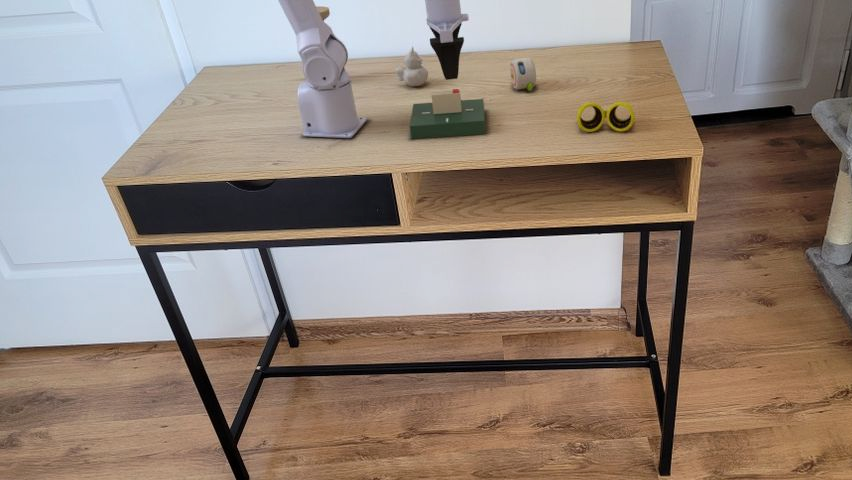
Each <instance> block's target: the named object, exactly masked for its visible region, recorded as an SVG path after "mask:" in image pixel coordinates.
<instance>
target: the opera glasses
mask: <svg viewBox="0 0 852 480" xmlns="http://www.w3.org/2000/svg"><path fill="white" fill-rule="evenodd" d="M589 107H591V108H593V110H594V115H593V117H592V118H591V119H588V120H585V119H583V118H582V114H583V112H584V111H585V110H586V109H588V108H589ZM619 107H623V108H626V109H627V110H628V112H629V113H630V114H629V116H628V117H627V118H626V119H620V118H619V117H618V116H617V113H616V111H617V109H618V108H619ZM635 117H636V115H635V112H634V109H633V106H632V105H631V104H630V103H628V102H625V101H618V102H614V103H612V104H611V105H610V106H609V107H608V109H607V110H606V109H603V106H601V105H600V104H599V103H596V102H586V103H583V104H581V105H580V106H579V107H578V109H577V116H576V122H577V125H578V127H579V128H580V129H581V130H582V131H584V132H587V133H593V132H596V131H598V130H599V129H600V128H601V127H602V126H603V125H604V122H605V119H606V122H607V124H608V125H609V127H610V128H611V130H614V131H616V132H625V131H628V130H630V129H631V128H632V126H633V125H634V122H635Z"/></svg>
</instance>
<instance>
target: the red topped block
mask: <svg viewBox="0 0 852 480" xmlns="http://www.w3.org/2000/svg"><path fill="white" fill-rule="evenodd" d="M430 96H431V97H430V98H431V103H432V105H433V113H434V114H445V113H458V112H462V107H461V100H462V97H461V90H460V89H459V88H453V89H452V90H439V91H438V90H437V91H431V95H430Z"/></svg>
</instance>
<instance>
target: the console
mask: <svg viewBox="0 0 852 480" xmlns="http://www.w3.org/2000/svg"><path fill="white" fill-rule="evenodd" d="M461 107H462V112H458V113H445V114H434V113H433V105H432V102H422V103H421V102H420V103H413V104H412V111H411V117H410V122H409V123H410V124H409V129H410V136H411V140H417V139H418V140H419V139H432V138H433V139H435V138H446V137H459V136H473V135H485V134H486V115H485V101H484V98H477V99H463V100H462V99H461Z"/></svg>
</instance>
